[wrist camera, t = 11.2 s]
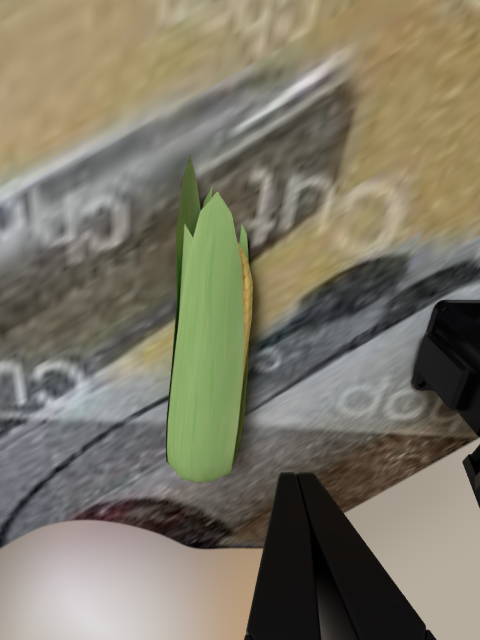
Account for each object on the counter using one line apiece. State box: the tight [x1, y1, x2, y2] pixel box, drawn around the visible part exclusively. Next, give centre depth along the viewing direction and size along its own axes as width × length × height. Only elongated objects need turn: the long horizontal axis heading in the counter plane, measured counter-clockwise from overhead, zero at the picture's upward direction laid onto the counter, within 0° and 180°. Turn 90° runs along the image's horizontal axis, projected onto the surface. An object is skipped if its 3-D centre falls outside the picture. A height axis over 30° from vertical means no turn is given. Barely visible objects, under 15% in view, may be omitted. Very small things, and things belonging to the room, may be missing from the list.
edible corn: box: [166, 157, 253, 482], centre depth 20 cm, size 5×20×5 cm
